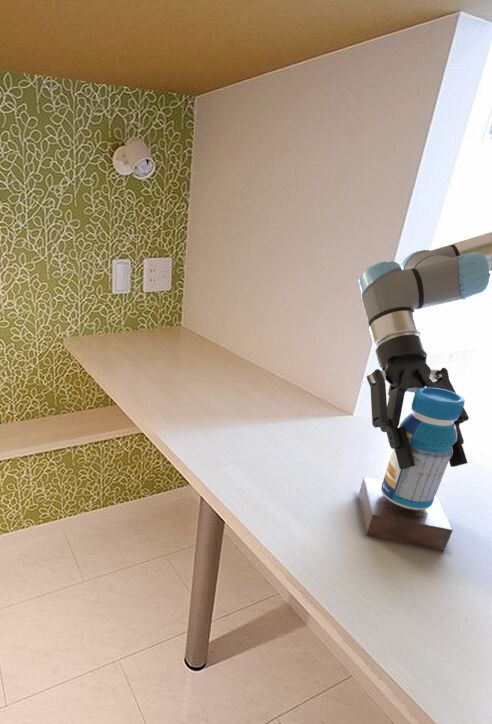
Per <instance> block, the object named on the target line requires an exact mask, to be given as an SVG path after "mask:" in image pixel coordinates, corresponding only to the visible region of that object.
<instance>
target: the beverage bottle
mask: <svg viewBox="0 0 492 724" xmlns="http://www.w3.org/2000/svg"><path fill="white" fill-rule="evenodd" d="M465 401H466V400H465V398H464V397H463V396H462V395H460V394H459V393H457V392H456V393H454V392H451V391H448V390H444V389H440V388H431V387H426V386H425V387H424V388H420V389H418V390H417V391H416V393H414V395H413V399H412V402H411V406H410V407H411V411H412V412H410V413H409V414H408V415H406V416H405V417H404V419H403V420H402V421H401V422H400V423H399V427H405V430H406V434H407V438H408V441H409V445H410V449H411V452H412V456H413V460H414V463H415V466H412V467H409V468H406V469H400V468H399V464H398V460H397V457H396V453H395V449H392V450H391V453H390V457H389V460H388V463H387V467H386V470H385V473H384V477H383V479H382V480H383V482H382V486H381V491H382V493H383V495H384V496H385V497H386V498H387V499H388V500H389V501H391V502H392V503H394V504H396V505H398V506H401V507H404V508H407V509H413V510H423V509H427V508H429V507H430V506H431V505H432V504H433V501H434V498H435V495H436V496H437V492H438V489H439V488H440V484H441V483H442V479H443V477H444V474H445V471H446V469H447V466H448V464H449V463H450V462H449V460H450V459H451V457H452V454H453V448H452V445H453V444H455V443H456V441H457V430H456V426H455V424H454V421H456V420H457V419H458V418H459V416H460V414H461V412H462V409H463V407H464V406H465Z"/></svg>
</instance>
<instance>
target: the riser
mask: <svg viewBox="0 0 492 724" xmlns="http://www.w3.org/2000/svg"><path fill="white" fill-rule="evenodd" d="M362 478H363V479H362V482H361V485H360V488H359V493H358V495H357V496H358V501H359V506H360V510H361V515H362V519H363V524H364V529H365V535H366V536H370V537H376V538H379V539H384V540H389V541H393V542H399V543H405V544H409V545H413V546H419V547H424V548H428V549H434V550H438V551H442V552H443V551H445V550H446V547H447V545H448V543H449V540H450V537H451V535H452V533H453V531H454V530H453V528H452V526H451V524H450V521H449V520H448V517H447V515H446V513H445V510H444V508H443V507H442V505H441V502H440V500H439V498H438V496H437V494H436V495H435V498H434V501H433V504H432V505H431V506H430V507H429V508H427V509H423V510H413V509H407V508H404V507H401V506H398V505H396V504H394V503H392V502H391V501H389V500H388V499H387V498H386V497H385V496H384V495H383V493H382V491H381V486H382V482H383V480H384V479H377V478H370V477H365V476H364V477H362Z"/></svg>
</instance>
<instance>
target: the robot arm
mask: <svg viewBox="0 0 492 724" xmlns="http://www.w3.org/2000/svg"><path fill="white" fill-rule="evenodd" d="M491 273H492V231H490V232H487V233H483V234H480V235H477V236H473V237H471V238H467V239H464V240H461V241H458V242H455V243H454V242H453V243H451V244H448V245H445V246H442V247H438V248H435V249H431V250H429V249H422V250H417V251H414V252H412V253H410V254H409V255H408V256H406V257H405V258H404V260H403V261H402V262H401V265H400V263H398V262H396V261H393V260H392V261H391V260H390V261H381V262H378V263H375V264H372V265H371V266H369V267H367V268H366V269H364V271H362V273H361V274H360V276H359V278H358V280H357V283H358V289H359V293H360V300H361V302H362V303H361V304H362V306H363V310H364V313H365V317H366V319H367V324H368V327H369V331H370V335H371V339H372V343H373V347H375V355H376V358H377V361H378V365H379V368H381V370H380V369H379V368H376V369H375V370H373V371H371V372H370V373H369V374H367V375H366V379H367V382H368V384H369V387H370V405H371V423H372V426H373V427H374V428H375V429H376V428H380V431H381V432H382V433H386V436H387V440H388V445H389V447H390V448H391V449H392V450H393V449H395V453H396V457H397V460H398V464H399V468H400V469H406V468H409V467H412V466H415V463H414V460H413V456H412V452H411V449H410V445H409V441H408V438H407V434H406V430H405V427H400V423H401V422H400V420H401V415H402V411H403V405H404V401H405V400H404V399H405V394H406V393H407V392H409V393H414V394H415V393H416V391H417V390H418V389H420V388H425V387H431V388H440V389H444V390H448V391H451V392H454V393H457V392H456V390H455V388H454V386H453V384H452V383H451V380H450V376H449V371H448V369H447V368H446V367H442V368H440V369H433V368H431V366H430V365H429V364H428V362H427V358H428V351H427V348H426V344H425V342H424V338H423V337H422V336H421V335H422V331H421V328H420V325H419V322H418V319H417V316H416V312H415V311H417V310H421V309H424V308H430V307H434V306H438V305H443V304H445V303H451V302H456V301H459V300H463V301H464V300H466V299H468V298H471V297H474V296H478V295H481V294H483V293H485V292H486V291H487V290H488V288H489V286H490V282H491ZM386 382H387V383H388V384H389V387H388V393H387V387H386V386H387V385H386ZM387 396H388V399H387ZM469 417H470V416H469V414H468V412H467V411H466V409H465V407H464V406H463V409H462V412H461V414H460V416H459V418H458V419H457V420H456V421H454V424H455V426H456V430H457V441H456V443H455V444H453V445H452V448H453V454H452V457H451V459H450V460H449V462H448V463H449V466H450V468H454V467H459V466H462V465H467V464H469V462H468V460H467V456H466V453H465V450H464V446H463V445H464V444H465V442H464V437H463V435H462V431H461V428H460V425H461V424H463V423H465V422H467V421H469V420H470V419H469Z"/></svg>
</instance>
